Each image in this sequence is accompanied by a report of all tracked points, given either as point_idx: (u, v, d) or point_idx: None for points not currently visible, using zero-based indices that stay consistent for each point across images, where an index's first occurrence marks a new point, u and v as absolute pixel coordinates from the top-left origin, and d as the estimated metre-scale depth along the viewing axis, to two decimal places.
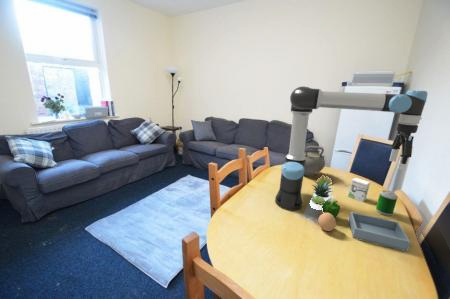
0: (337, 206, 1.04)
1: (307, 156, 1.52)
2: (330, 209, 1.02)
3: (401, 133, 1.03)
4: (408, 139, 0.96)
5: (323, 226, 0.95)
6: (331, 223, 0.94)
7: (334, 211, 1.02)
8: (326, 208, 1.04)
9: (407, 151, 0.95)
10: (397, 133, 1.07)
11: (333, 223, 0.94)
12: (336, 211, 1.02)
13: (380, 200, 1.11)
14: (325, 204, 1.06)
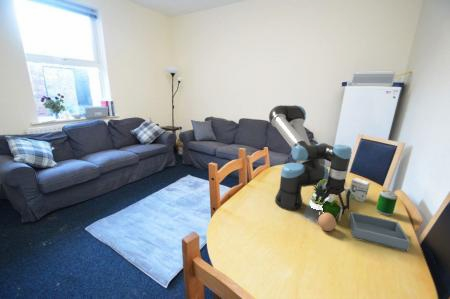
0: (337, 206, 1.04)
1: None
2: (330, 209, 1.02)
3: None
4: None
5: (323, 226, 0.95)
6: (331, 223, 0.94)
7: (334, 211, 1.02)
8: (326, 208, 1.04)
9: (316, 196, 1.08)
10: None
11: (333, 223, 0.94)
12: (336, 211, 1.02)
13: (380, 200, 1.11)
14: (325, 204, 1.06)
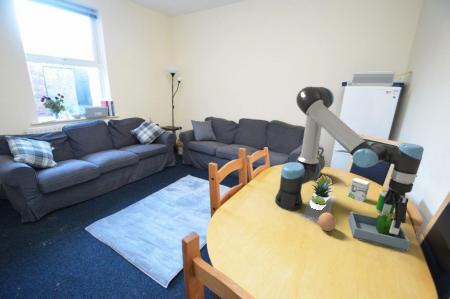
0: None
1: None
2: None
3: (394, 189, 0.90)
4: (402, 201, 0.82)
5: (323, 226, 0.95)
6: (331, 223, 0.94)
7: None
8: None
9: (400, 216, 0.82)
10: (389, 187, 0.94)
11: (333, 223, 0.94)
12: None
13: (380, 200, 1.11)
14: None
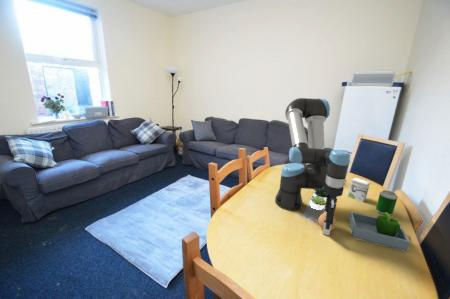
0: None
1: None
2: None
3: None
4: (331, 206, 0.88)
5: (323, 226, 0.95)
6: None
7: None
8: (398, 226, 0.90)
9: (329, 219, 0.89)
10: None
11: (333, 223, 0.94)
12: None
13: (380, 200, 1.11)
14: (392, 224, 0.90)
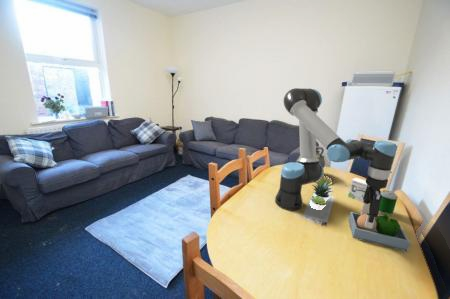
0: None
1: None
2: (399, 224, 0.91)
3: None
4: (376, 198, 0.86)
5: (363, 228, 0.94)
6: None
7: None
8: (398, 226, 0.90)
9: (374, 211, 0.87)
10: (367, 184, 0.98)
11: (374, 225, 0.92)
12: None
13: None
14: (392, 224, 0.90)
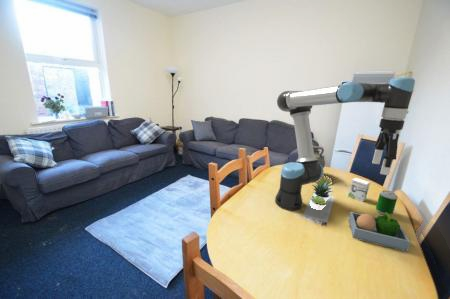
0: None
1: None
2: (399, 224, 0.91)
3: (385, 130, 0.86)
4: (392, 137, 0.78)
5: (363, 227, 0.94)
6: (372, 224, 0.92)
7: None
8: (398, 226, 0.90)
9: (391, 152, 0.78)
10: None
11: (374, 224, 0.92)
12: None
13: (380, 200, 1.11)
14: (392, 224, 0.90)
